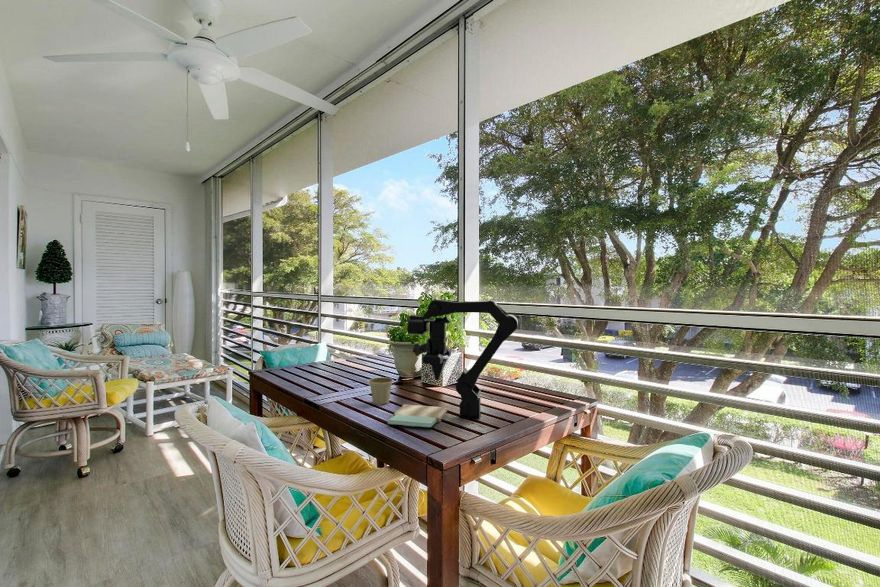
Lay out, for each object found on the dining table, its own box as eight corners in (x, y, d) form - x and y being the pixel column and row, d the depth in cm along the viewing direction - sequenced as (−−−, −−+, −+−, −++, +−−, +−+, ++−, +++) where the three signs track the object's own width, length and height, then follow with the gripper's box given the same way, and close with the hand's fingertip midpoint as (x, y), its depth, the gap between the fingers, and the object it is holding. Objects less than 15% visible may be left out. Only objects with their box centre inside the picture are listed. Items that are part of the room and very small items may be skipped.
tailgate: (436, 417, 139) (430, 423, 131) (436, 422, 139) (430, 428, 131) (396, 414, 142) (388, 419, 134) (396, 419, 142) (388, 424, 134)
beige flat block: (447, 411, 150) (447, 407, 150) (439, 422, 139) (439, 418, 139) (404, 408, 154) (404, 404, 154) (393, 418, 142) (393, 414, 142)
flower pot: (369, 407, 155) (369, 383, 155) (367, 400, 165) (367, 378, 164) (395, 405, 158) (395, 382, 158) (391, 398, 167) (391, 376, 167)
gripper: (422, 331, 158) (422, 372, 159) (407, 337, 140) (407, 384, 140) (451, 332, 156) (451, 374, 156) (440, 339, 138) (439, 386, 138)
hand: (437, 379), depth 148 cm, fingers closed
